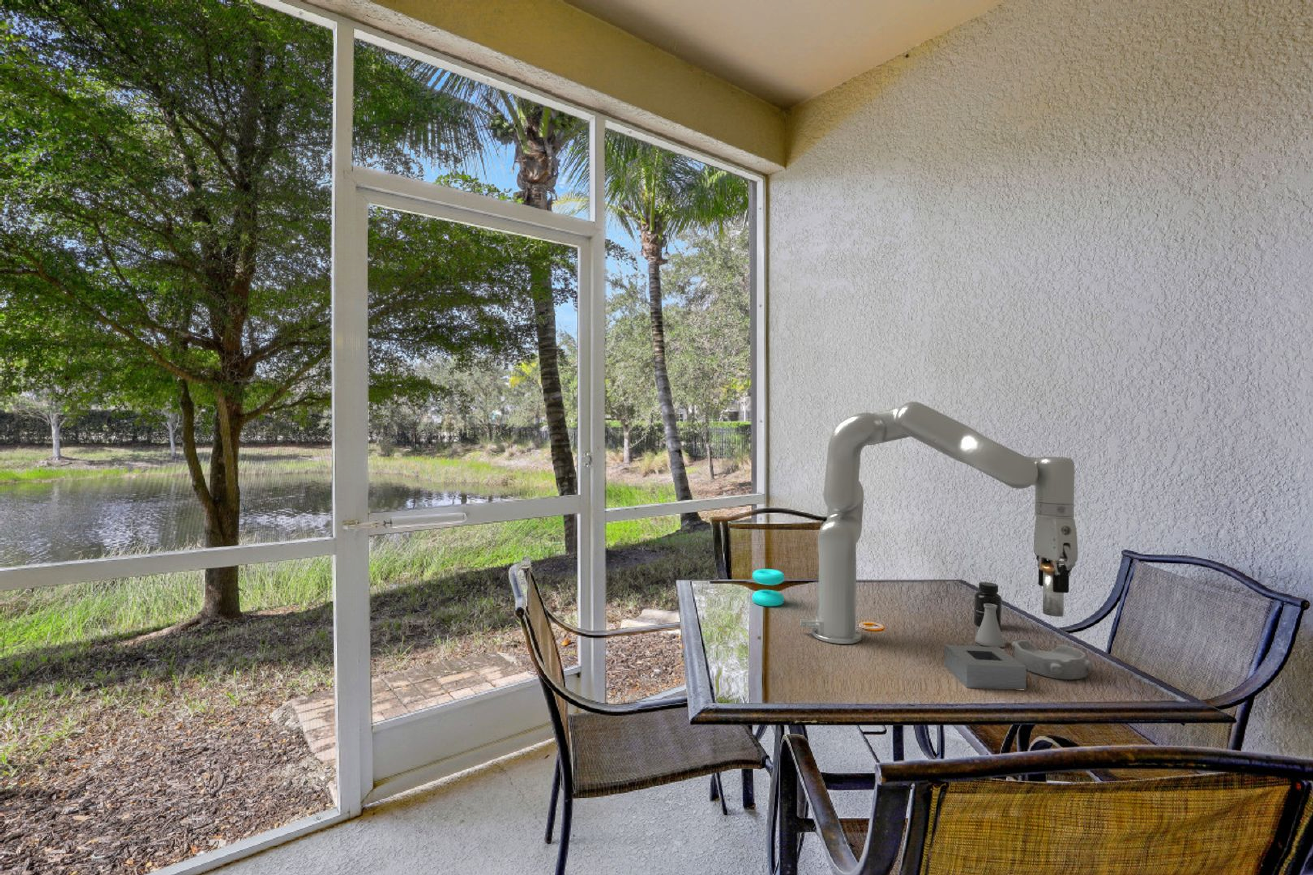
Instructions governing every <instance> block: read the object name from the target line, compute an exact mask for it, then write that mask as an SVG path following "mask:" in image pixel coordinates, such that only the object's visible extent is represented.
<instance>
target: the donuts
mask: <svg viewBox="0 0 1313 875" xmlns="http://www.w3.org/2000/svg"><path fill="white" fill-rule="evenodd" d="M751 577H752V579H753V580H754V582H756V583H758V584H761V585H765V586H775V585H779V584H781V583H783V582H784V581H785V574H784V572H782V571H781V570H778V569H772V568H771V569H770V568H762V569H760V568H759V569H757V570H754V571H753V572H752V576H751ZM751 599H752V602H753V603H754V604H756V605H758V606H763V607H772V608H773V607H779V606H781V605H783V604H784V603H785V597H784V595H783V594H782V593H781V592H779V591H777V590H773V589H758V590H757V591H755V592H754V593H753V594H752V596H751Z"/></svg>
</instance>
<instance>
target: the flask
mask: <svg viewBox="0 0 1313 875" xmlns="http://www.w3.org/2000/svg"><path fill="white" fill-rule="evenodd" d="M984 607H985V613H984V618H983V621H982V623H981V626H980V627H979V628H978V631H977V632H976V634H975V638H974V642H975V643H976V644H979V645H981V646H983V647H999V648H1005V647H1006V643H1005V640H1004V637H1003V633H1002V631H1001V627H1000V628H999V625H998V622H997V617H996V609H997V605H994V604H984Z"/></svg>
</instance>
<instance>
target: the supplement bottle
mask: <svg viewBox="0 0 1313 875" xmlns="http://www.w3.org/2000/svg"><path fill="white" fill-rule="evenodd" d="M998 593H999V584H997V583H994V582H989V581H988V582H987V581H980V582H979V583H978V591H977V592H975V594H974V603H973V624H974V625H975V626H976V627H979V628H980V626H981V623H982V621H983V618H984V613H985V607H984V604H994V605H997V609H996V617H997V622H998V625H999V628H1000V629H1001V625H1002V606H1003V605H1002V604H1003V603H1002V602H1003V600H1002V599H1003V598H1002V596H1001V595H1000V594H998Z"/></svg>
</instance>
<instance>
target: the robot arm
mask: <svg viewBox="0 0 1313 875" xmlns="http://www.w3.org/2000/svg"><path fill="white" fill-rule="evenodd" d="M910 437H911V438H913V439H915V440H916V441H919V442H921V443H923V444H924V445H926V446H929V447H930V448H932V449H933V450H935V451H937V452H940V453H942V454H944V455H945V456H948V457H949V458H951V459H953V460H954V461H957V462H960V463H963V464H966V465H967V466H969V467H971V468H974V469H976V470H977V471H979V472H980V473H984V474H985V475H987V476H989V477H991V478H993V479H994V480H996V481H999V482H1000V483H1002V484H1004V485H1006V486H1008V487H1010V488H1012V489H1018V490H1019V489H1021V490H1022V489H1026V488H1029V487H1031V486H1034V487H1035V490H1034V492H1035V493H1034V516H1035V523H1034V533H1033V553H1034V555H1035V557H1036V558H1035V559H1036V560H1037V565H1036V566H1037V568H1038V582H1037V583H1038V586H1040V587H1043V571H1041V570H1040V564H1041V563H1052V564H1054V571H1055V574H1053V592H1055V593H1064V594H1068V593H1069V592H1070V576H1071V571H1072V570H1073V568H1074V567H1076V564H1077V563H1076V562H1078V558H1079V549H1078V544H1079V543H1078V533H1077V527H1076V520H1075V517H1074V516H1075V473H1076V472H1075V471H1076V470H1075V462H1074V460H1073V459H1072V458H1071V457H1070V458H1069V457H1066V456H1065V457H1064V456H1041V457H1035V456H1025V455H1024V454H1021V453H1020V452H1017V451H1014V450H1013V449H1011V448H1009V447H1007V446H1005V445H1003V444H1001V443H999V442H997V441H995V440H992V439H991V438H989V437H987V436H985V435H984V434H981V432H978V430H975V429H974V428H972V427H970V426H968V425H966V424H964V423H962V422H960V421H959V420H956V419H955V418H952V417H949V416H948V415H946V414H944V413H942V412H939V411H938V410H936V409H934V408H932V407H929V406H928V405H927V404H924V403H921V402H919V401H909V402H905V403H903V404H902V405H901V406H898V407H893V408H891V409H886V410H883V411H877V412H874V413H871V412H859V413H856V414H853V415H851V416H849V417H847V418H845V419H844V420H843V421H841V422H840V423H839V424H838V425H837V426H836V427H835V428H834V430H833V431H832V433H831V435H830V438H829V441H828V446H827V457H826V464H825V465H826V466H825V477H824V486H823V501H824V503H825V505H826V506H827V513H826V520H825V521H824V522H823V523H822V524H821V526H820V528H819V531H818V535H817V550H818V599H817V600H818V603H817V604H818V605H817V606H818V609H817V610H818V611H817V614H815V616H814V617H815V618H811V619H807V618H806V619H805V618H799V627H805V628H806V629H809V630H810V629H811V635H812V636H813V637H814V638H816V639H817V640H820V641H822V642H825V643H829V644H837V645H849V644H850V645H851V644H855V643H859V642H860V641H861V640H862V633H861V632H860V631H859V630H857V629H856V621H857V620H856V617H857V616H856V614H857V613H856V612H857V610H856V609H857V543H858V542H859V541H860V538H861V536H862V528H863V513H864V502H865V501H864V500H865V499H864V497H865V496H864V494H865V493H864V487H863V485H862V483H861V481H860V468H861V453H862V450H863V448H865V447H867V446H875V445H878V444H883V443H887V442H892V441H893V442H894V441H897V440H902V439H905V438H910ZM1061 559H1062V560H1061ZM1059 564H1060V565H1062V566H1061V567H1060V568H1059Z"/></svg>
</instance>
